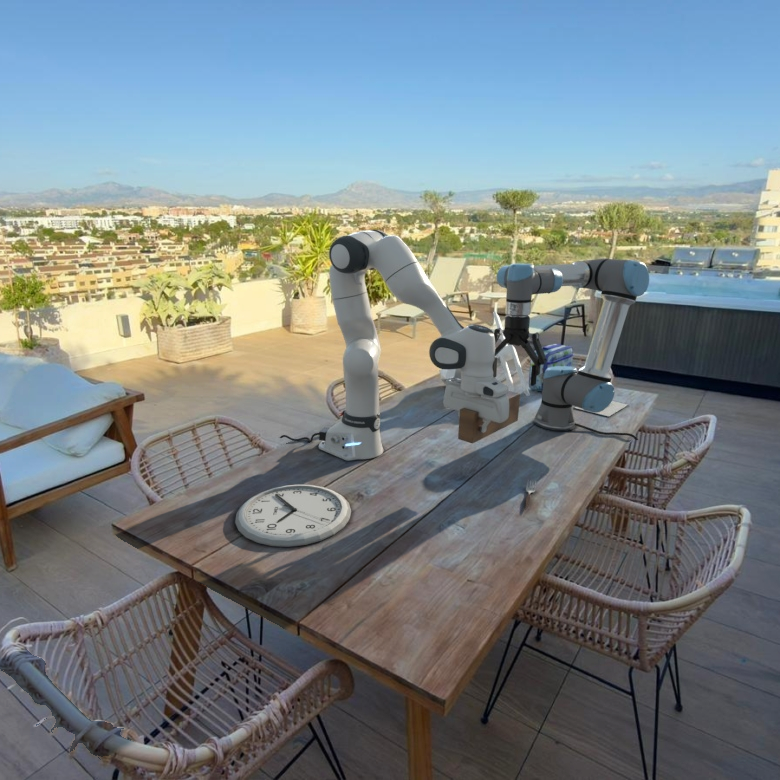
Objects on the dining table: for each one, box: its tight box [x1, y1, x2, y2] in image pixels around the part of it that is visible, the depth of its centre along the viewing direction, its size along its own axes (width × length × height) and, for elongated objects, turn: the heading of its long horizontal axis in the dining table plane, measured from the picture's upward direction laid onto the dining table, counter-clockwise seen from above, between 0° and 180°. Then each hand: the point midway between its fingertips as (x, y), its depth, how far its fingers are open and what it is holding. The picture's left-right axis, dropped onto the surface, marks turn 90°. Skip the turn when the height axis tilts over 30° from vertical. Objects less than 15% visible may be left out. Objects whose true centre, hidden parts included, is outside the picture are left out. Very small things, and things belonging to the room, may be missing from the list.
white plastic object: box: [438, 310, 531, 397], centre depth 245 cm, size 37×45×31 cm
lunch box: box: [528, 343, 574, 392], centre depth 248 cm, size 26×11×21 cm, turn 134°
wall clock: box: [234, 484, 352, 548], centre depth 138 cm, size 30×2×30 cm
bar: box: [457, 390, 521, 444], centre depth 157 cm, size 26×5×9 cm, turn 138°
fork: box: [525, 478, 537, 511], centre depth 148 cm, size 3×16×2 cm, turn 160°
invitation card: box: [573, 400, 629, 418], centre depth 226 cm, size 21×1×15 cm
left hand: (473, 428), depth 151 cm, fingers closed on bar, 5 cm apart
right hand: (512, 381), depth 168 cm, fingers open, 13 cm apart
